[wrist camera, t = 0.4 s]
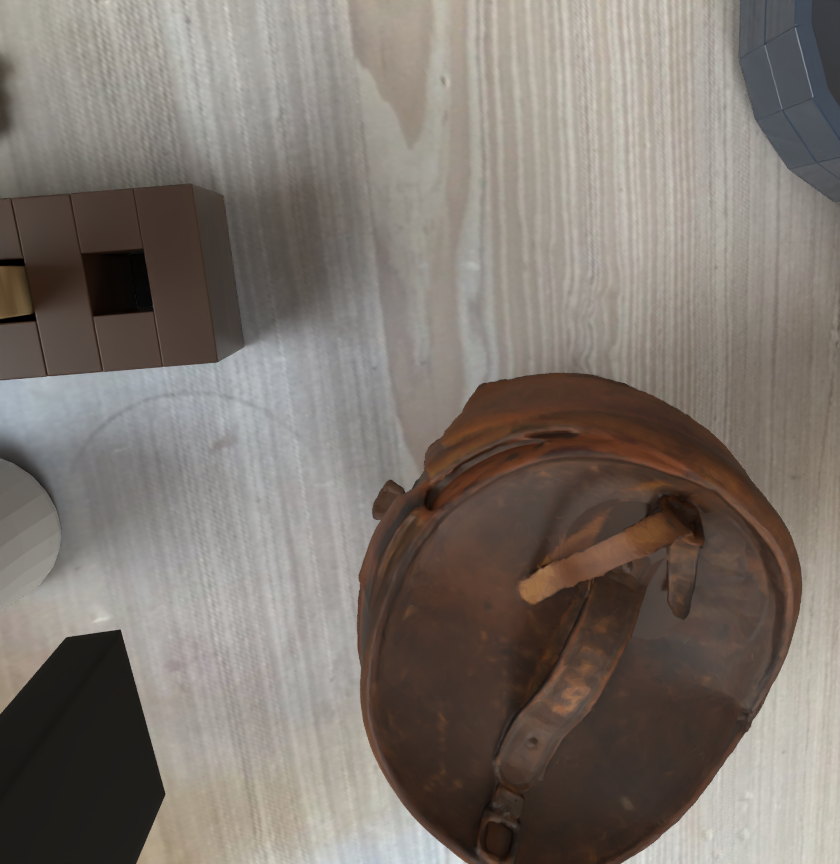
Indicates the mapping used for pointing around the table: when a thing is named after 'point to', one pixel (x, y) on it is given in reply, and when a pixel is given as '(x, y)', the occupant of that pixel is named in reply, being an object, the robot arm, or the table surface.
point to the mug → (25, 533)
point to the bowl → (796, 83)
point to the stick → (15, 292)
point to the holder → (119, 281)
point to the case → (568, 621)
